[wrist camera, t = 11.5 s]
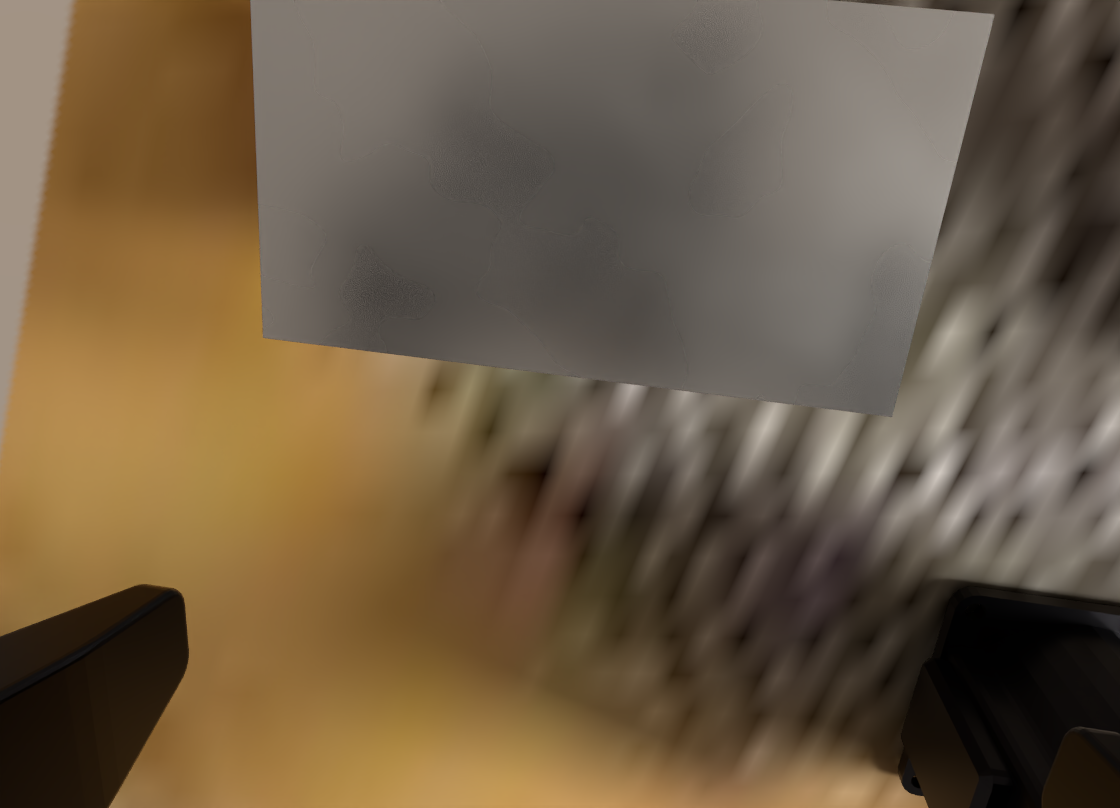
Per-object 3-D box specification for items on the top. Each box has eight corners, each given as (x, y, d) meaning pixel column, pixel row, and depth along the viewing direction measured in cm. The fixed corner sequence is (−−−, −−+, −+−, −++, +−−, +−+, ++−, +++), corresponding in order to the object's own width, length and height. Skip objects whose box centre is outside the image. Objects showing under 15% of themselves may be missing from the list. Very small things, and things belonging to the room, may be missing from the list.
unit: (880, 47, 16) (1069, -20, 9) (824, 313, 18) (938, 443, 11) (396, 4, 17) (193, -91, 10) (390, 263, 19) (218, 352, 12)
